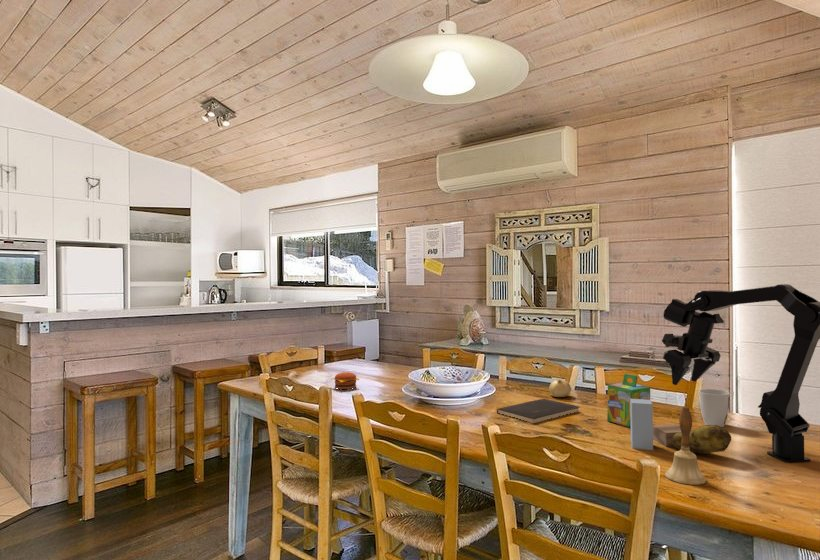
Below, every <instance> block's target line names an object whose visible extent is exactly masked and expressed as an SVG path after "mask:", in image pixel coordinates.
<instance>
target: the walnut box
mask: <svg viewBox="0 0 820 560" xmlns="http://www.w3.org/2000/svg"><path fill="white" fill-rule="evenodd" d="M679 432H681V429H680V425H678V424H653V441H655V442H657V443H659V444H660V445H662V446H664V447H666V448H670V447H672V448H673V447H675V446H674V445H673V444H672V438H673V436H674V435H675V434H676V433H679ZM675 448H676V447H675Z"/></svg>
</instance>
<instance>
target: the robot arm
mask: <svg viewBox="0 0 820 560" xmlns="http://www.w3.org/2000/svg"><path fill="white" fill-rule="evenodd" d="M772 301H773V302H774V301H776V302H778V303H779V304H780V305H781V306H782V307H783V308H784V309H785V310H786V311H787V312H788V313H790V314H791V315H792V316H794V318H793V323H792V326H793V332H794V337H793V340H792V344H791V346H790V349H789V351H788V354H787V357H786V360H785V363H784V364H783V367H782V371H781V373H780V376H779V379H778V381H777V383H776V384H777V385H776V388H775V389H774V390H771V391H766V392H763V394H762V396H761V402H760V404H759V405H758V406H757V408H760V409H759V416H760V417H761V419H762V421H764V423H765V425H766V427H767V431H768V433H769V434H770V435H771V434H772V435H771V438H772V439H771V442H772V443H771V446H772V447H771V448H772V450H769V451H766V454H768V455H770V456H772V457H774V458H776V459H778V460H780V461H783V462H786V463H795V462H797V463H798V462H800V463H801V462H811V461H812V460H811V458H810V457H808V456H806V455H805V435H803V434H804V433H807V432H808V430H809V428H810V423H808V421H807V420H806V419H805V418H804V417H803V416H802V415H801V414H800V413H799V412H800V405H801V403H800V399H799V392H800V390H801V388H802V385H803V381H804V379H805V377H806V373H807V371H808V369H809V366H810V364H811V360H812V359H813V355H814V353H815V349H816V347H817V345H818V343H819V341H820V301H819V300H817V299H816V298H814V297H812V296H810V295H809V294H806V293H804V292H802V291H801V290H798V289H797V288H796V287H794V286H792V285H791V284H788V283H787V284H785V283H784V284H781V283H780V284H776V285H773V286H763V287H756V288H748V289H741V290H723V289H722V290H719V289H718V290H717V289H712V290H699V291H697V292H696V293H695V295H694V298H693V299H691V300H690V301H688V302H684V301H682V300H680V299H677V298H673V299H671V302H670V303H668V305H667V306H666V308H664V311H663V318H664V320H666V321H669V322H671V323H673V324H675V325H678V326H681V327H683V328H684V327H688V326H689V327H688V329H687V332H684V333H682V335H676V334H675V335H674V333H665V334H663V336H662V339H661V342H662V344H663V345H664V348H674V349H669V350H666V351H664V353H663V356H662V359H663V360H664V361H665V362H666V363H668V364H669V366H670V370H671V383H672V385H673V386H677V385H678V384H679V383H680V382H681V380H682V379H683V377H684V376H685V375H686V373H687V372H688V371H689V370H690V365H691V364H692V360H693V366H692V367H693V368H692V372H691V381H692V382H697V381H698V380H699V379H700V378H701V377H702V376H703V375H704V374H705V373H706V372H708V370H709V369H710V368H711V367H713V366H714V365H716V363H717V362H720V359H721V357H722V356H721V353H720V351H718V350H716V349H714V348H711V347H709V344H712V343H713V339H712V338H711V336H712V333H713V329H714V326H715V324H716V325H718V324H724V323H725V320H724V319H723V318H722V316H721V314H720V313H714V314H712V313H709V312H714V311H720V310H724V309H728V308H730V307H733V306H736V305H737V306H738V305H744V304H752V303H753V304H754V303H763V302H772ZM676 348H677V349H676Z"/></svg>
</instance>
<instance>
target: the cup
mask: <svg viewBox="0 0 820 560" xmlns="http://www.w3.org/2000/svg"><path fill="white" fill-rule="evenodd" d="M698 397H699V407H700V411H701V412H700V413H701V417H702V419H703V422H704V425H705V424H706V425H718V426H720V427H721V428H724V427H725V425H726V422H727V420H728V414H729V408H730V397H731V394H730V392H729V391H726V390H722V389H714V388H713V389H712V388H702V389H699V390H698Z"/></svg>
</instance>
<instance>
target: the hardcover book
mask: <svg viewBox="0 0 820 560" xmlns="http://www.w3.org/2000/svg"><path fill="white" fill-rule="evenodd" d="M580 407H581V406H580V405H579V406H578V405H574V404H571V403H566V402H561V401H557V400H552V399H547V398H539V399H535V400H531V401H527V402H522V403H516V404H513V405H507V406H503V407H500V408H496V414H498V413H500V414H499V415H502V414H504V415H503V416H505V415H507V416H506V417H509V416H511V417H510V418H512V417H515V418H514V419H516V418H518V419H517V420H519V419H521V420H520V421H523V420H524V421H523V422H526V421H527V423H530V424H535V423H540V422H543V421H547V419H548V420H551V418H552V419H556V418H560V417H564V416H567V415H566V414H568V415H570V413H571V414H575V413H578V412H579V409H580ZM574 412H575V413H574ZM563 415H564V416H563ZM559 416H560V417H559Z"/></svg>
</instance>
